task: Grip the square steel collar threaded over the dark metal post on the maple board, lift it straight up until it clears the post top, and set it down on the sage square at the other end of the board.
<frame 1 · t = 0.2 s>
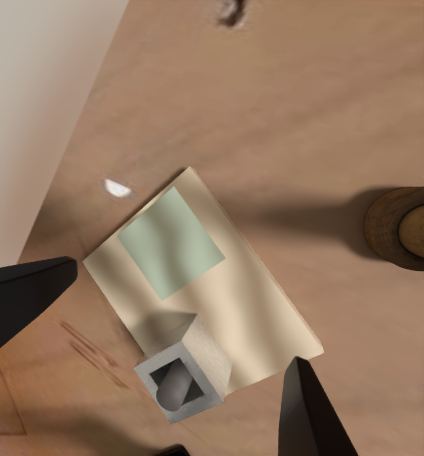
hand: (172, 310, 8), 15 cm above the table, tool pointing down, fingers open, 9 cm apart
collar: (193, 350, 24), point 1 cm above the table, touching board
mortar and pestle: (404, 225, 19), on the table
board: (191, 295, 25), on the table
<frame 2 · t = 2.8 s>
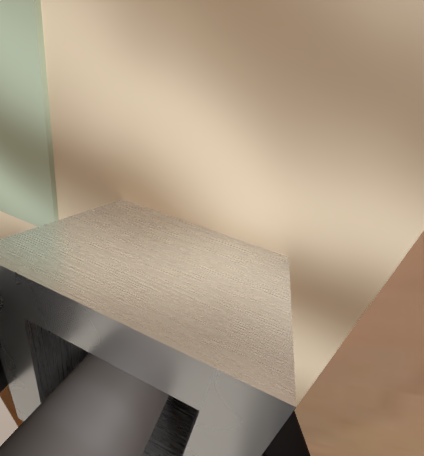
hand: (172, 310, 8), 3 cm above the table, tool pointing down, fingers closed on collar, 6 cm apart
collar: (184, 293, 9), point 1 cm above the table, touching board, gripper
board: (111, 184, 10), on the table
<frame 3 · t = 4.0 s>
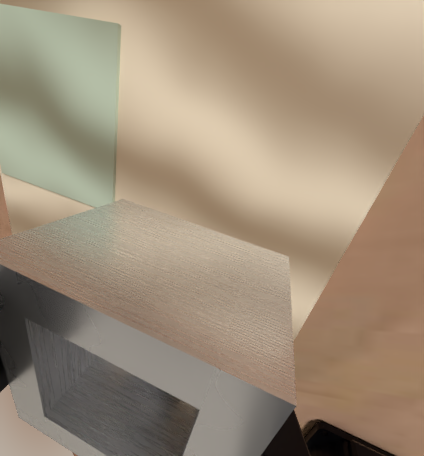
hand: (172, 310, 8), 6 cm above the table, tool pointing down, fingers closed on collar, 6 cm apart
collar: (184, 293, 9), point 5 cm above the table, touching gripper
board: (153, 176, 13), on the table
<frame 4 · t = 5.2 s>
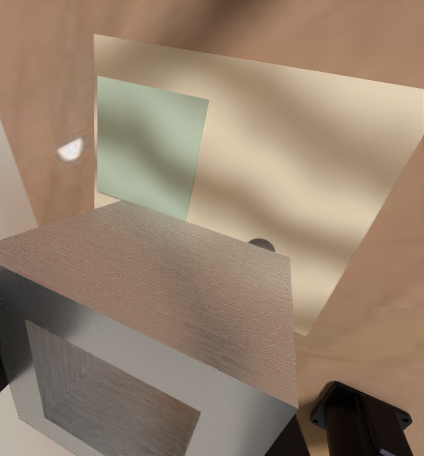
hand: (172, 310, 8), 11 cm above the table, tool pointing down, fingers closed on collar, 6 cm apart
collar: (184, 294, 9), point 10 cm above the table, touching gripper
board: (214, 194, 18), on the table
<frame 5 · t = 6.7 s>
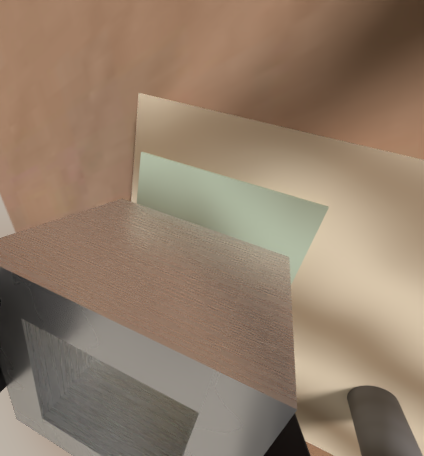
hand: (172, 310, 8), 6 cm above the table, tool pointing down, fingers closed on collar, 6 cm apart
collar: (183, 293, 9), point 5 cm above the table, touching gripper
board: (300, 307, 13), on the table
when the fingers open (4 cm above the table, at t = 8.0 s): collar drops 1 cm, resting on board.
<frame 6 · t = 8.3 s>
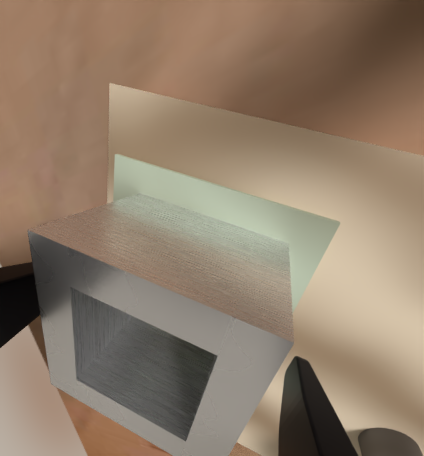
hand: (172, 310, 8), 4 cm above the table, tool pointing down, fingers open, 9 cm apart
collar: (194, 279, 10), point 2 cm above the table, touching board
board: (303, 333, 11), on the table
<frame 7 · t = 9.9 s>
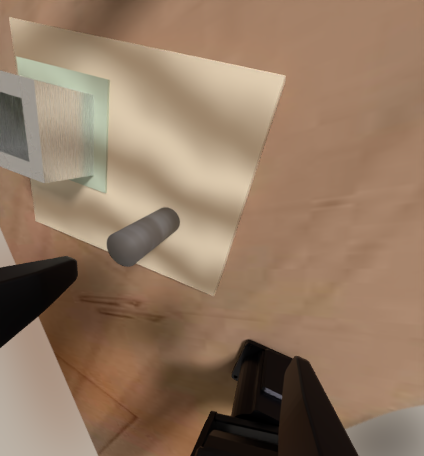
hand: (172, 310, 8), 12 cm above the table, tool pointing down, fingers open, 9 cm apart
collar: (63, 128, 19), point 2 cm above the table, touching board
board: (132, 169, 20), on the table
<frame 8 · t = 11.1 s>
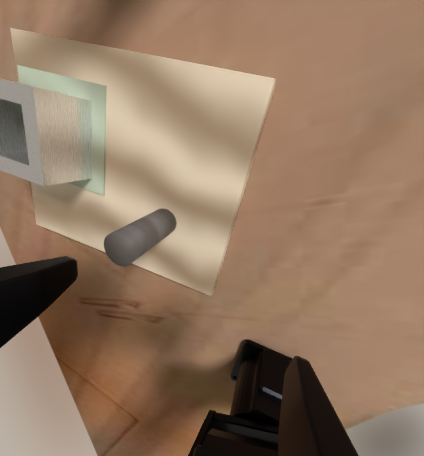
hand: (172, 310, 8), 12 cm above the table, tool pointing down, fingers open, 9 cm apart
collar: (62, 133, 19), point 2 cm above the table, touching board
board: (130, 171, 20), on the table
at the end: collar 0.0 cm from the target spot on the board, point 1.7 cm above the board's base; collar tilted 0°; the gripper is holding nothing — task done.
